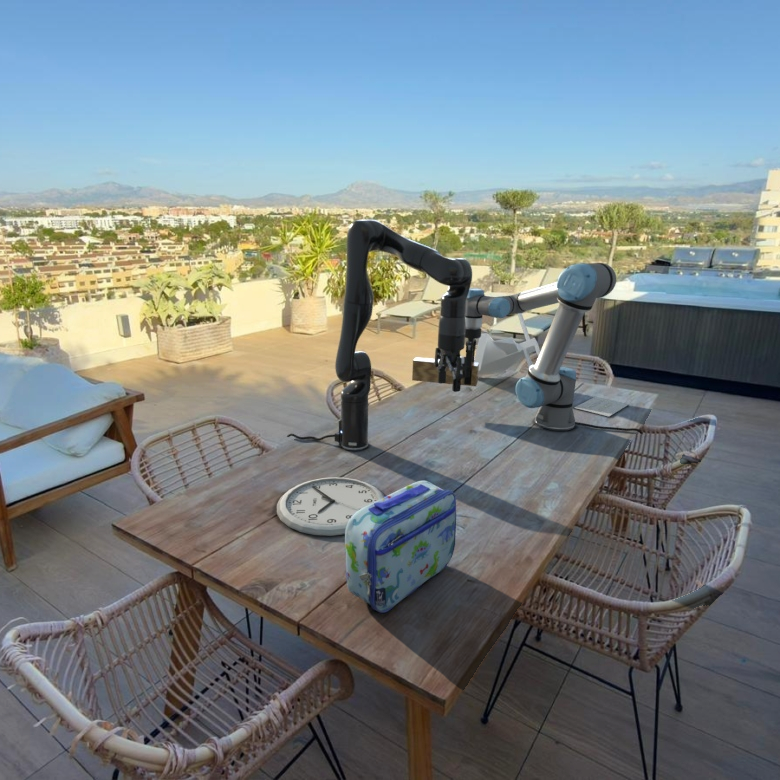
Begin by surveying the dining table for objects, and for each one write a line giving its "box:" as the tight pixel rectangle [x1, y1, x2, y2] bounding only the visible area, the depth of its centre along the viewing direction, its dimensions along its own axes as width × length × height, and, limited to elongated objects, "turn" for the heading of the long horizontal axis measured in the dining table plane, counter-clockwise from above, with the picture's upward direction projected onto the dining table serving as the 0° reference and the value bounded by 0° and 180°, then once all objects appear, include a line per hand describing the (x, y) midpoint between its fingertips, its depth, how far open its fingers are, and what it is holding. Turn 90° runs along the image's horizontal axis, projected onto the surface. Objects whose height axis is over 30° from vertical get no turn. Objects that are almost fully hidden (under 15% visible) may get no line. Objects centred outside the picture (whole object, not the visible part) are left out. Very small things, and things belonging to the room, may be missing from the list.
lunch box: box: [344, 480, 457, 614], centre depth 109 cm, size 26×11×21 cm, turn 135°
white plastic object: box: [474, 313, 541, 377], centre depth 260 cm, size 37×45×31 cm
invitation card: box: [573, 396, 629, 418], centre depth 226 cm, size 21×1×15 cm
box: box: [411, 356, 479, 387], centre depth 220 cm, size 27×6×9 cm, turn 76°
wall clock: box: [276, 476, 386, 537], centre depth 142 cm, size 30×2×30 cm
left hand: (448, 387), depth 151 cm, fingers open, 8 cm apart
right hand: (468, 382), depth 219 cm, fingers closed on box, 6 cm apart
